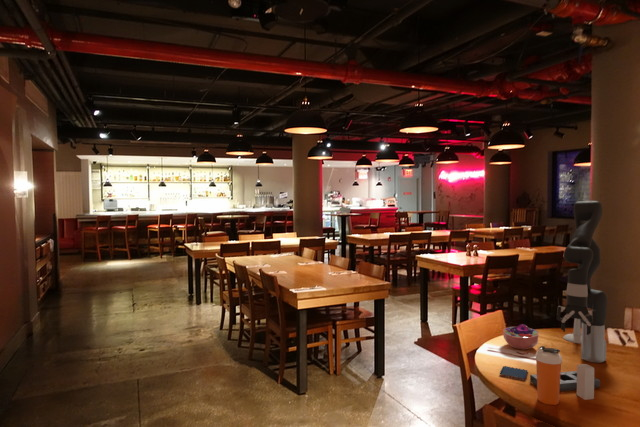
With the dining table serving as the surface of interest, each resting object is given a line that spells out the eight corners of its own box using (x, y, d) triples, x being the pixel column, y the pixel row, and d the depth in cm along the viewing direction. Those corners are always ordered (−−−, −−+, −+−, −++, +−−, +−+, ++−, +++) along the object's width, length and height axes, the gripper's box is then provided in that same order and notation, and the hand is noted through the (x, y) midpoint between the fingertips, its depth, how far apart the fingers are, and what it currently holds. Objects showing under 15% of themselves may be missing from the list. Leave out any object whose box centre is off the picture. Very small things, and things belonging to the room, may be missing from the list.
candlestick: (590, 338, 235) (591, 283, 234) (591, 345, 224) (592, 287, 223) (563, 334, 241) (564, 281, 240) (563, 341, 230) (563, 285, 229)
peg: (585, 394, 169) (586, 363, 168) (593, 398, 165) (594, 367, 164) (576, 395, 168) (577, 364, 168) (584, 399, 164) (585, 368, 164)
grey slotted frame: (580, 377, 184) (581, 370, 184) (599, 387, 174) (599, 380, 174) (530, 381, 180) (530, 374, 180) (546, 392, 170) (546, 385, 170)
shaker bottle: (560, 408, 158) (561, 354, 157) (533, 402, 162) (534, 350, 162) (562, 398, 165) (562, 347, 164) (536, 393, 170) (536, 343, 169)
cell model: (495, 348, 221) (495, 326, 220) (512, 339, 234) (512, 318, 234) (529, 356, 208) (529, 333, 208) (545, 347, 222) (546, 325, 221)
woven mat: (526, 382, 180) (526, 378, 180) (499, 377, 186) (499, 372, 186) (528, 374, 189) (528, 369, 189) (502, 369, 195) (502, 364, 195)
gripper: (596, 295, 181) (594, 333, 181) (557, 291, 188) (556, 328, 188) (597, 297, 174) (596, 337, 174) (557, 293, 181) (556, 332, 181)
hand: (575, 332), depth 181 cm, fingers open, 8 cm apart
